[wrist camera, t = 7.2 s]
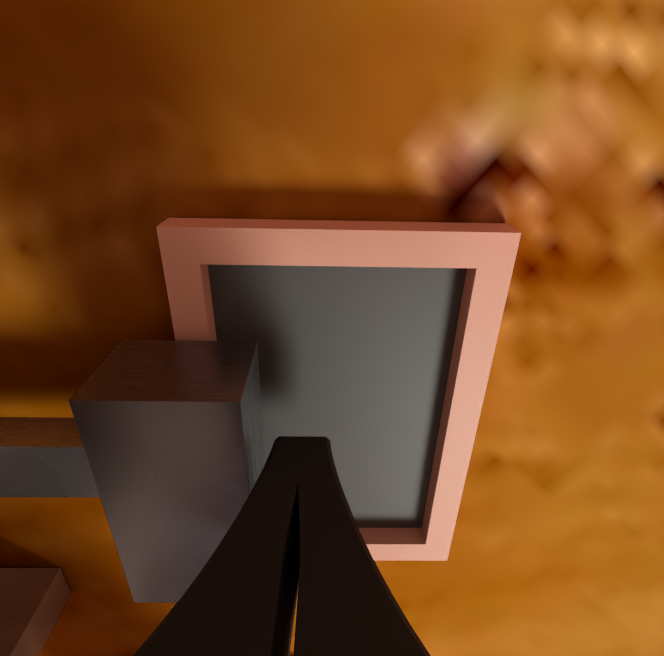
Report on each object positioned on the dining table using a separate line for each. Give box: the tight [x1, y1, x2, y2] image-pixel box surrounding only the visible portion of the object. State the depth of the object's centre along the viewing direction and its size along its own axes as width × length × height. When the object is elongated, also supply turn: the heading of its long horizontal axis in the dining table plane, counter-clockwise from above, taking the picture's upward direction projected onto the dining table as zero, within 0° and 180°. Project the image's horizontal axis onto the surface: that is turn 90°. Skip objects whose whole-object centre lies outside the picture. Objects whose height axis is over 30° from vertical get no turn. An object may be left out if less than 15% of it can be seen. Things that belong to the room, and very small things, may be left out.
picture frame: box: [156, 218, 521, 560], centre depth 12 cm, size 11×8×1 cm
